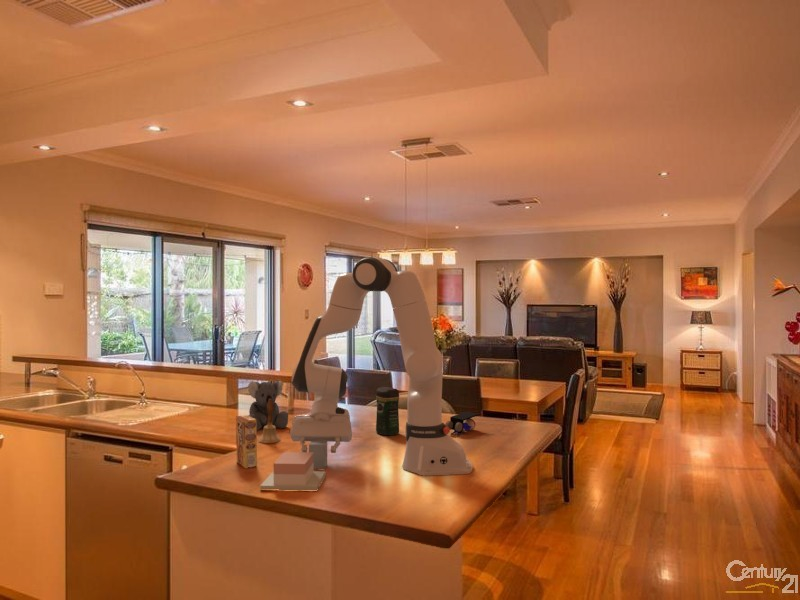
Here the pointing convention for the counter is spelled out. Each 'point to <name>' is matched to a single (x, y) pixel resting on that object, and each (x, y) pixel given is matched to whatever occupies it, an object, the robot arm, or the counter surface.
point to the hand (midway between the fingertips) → (318, 451)
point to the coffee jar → (387, 411)
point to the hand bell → (269, 427)
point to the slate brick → (319, 453)
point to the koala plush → (259, 407)
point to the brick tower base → (295, 487)
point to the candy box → (246, 441)
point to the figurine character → (461, 422)
